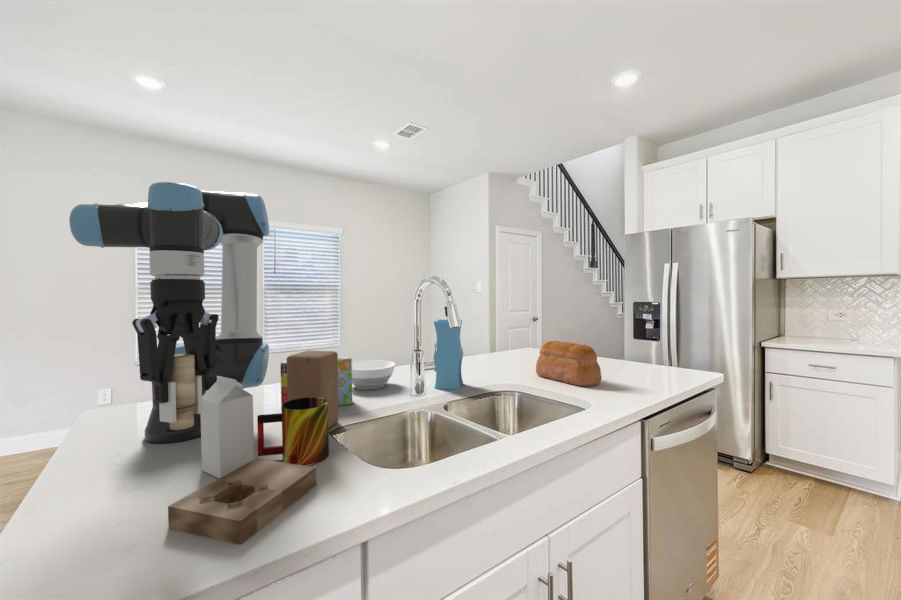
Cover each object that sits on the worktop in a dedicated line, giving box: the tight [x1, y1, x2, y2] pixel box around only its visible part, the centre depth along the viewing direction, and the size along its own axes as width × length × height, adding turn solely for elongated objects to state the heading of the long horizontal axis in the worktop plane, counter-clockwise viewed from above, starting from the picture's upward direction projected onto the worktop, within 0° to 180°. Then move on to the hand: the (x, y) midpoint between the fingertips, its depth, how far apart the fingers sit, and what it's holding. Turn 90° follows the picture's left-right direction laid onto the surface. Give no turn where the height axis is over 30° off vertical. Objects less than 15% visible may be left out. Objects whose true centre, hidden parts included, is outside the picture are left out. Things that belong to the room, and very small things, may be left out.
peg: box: [170, 354, 196, 430], centre depth 67 cm, size 4×4×12 cm
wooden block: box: [286, 350, 340, 429], centre depth 106 cm, size 10×10×20 cm
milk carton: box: [200, 376, 255, 479], centre depth 82 cm, size 7×7×19 cm
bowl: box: [352, 359, 396, 391], centre depth 151 cm, size 20×20×8 cm
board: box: [167, 458, 317, 545], centre depth 68 cm, size 14×18×4 cm
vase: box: [433, 318, 464, 391], centre depth 150 cm, size 10×10×25 cm
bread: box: [535, 340, 602, 387], centre depth 160 cm, size 14×26×15 cm, turn 34°
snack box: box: [280, 355, 353, 411], centre depth 126 cm, size 21×6×15 cm, turn 108°
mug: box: [256, 397, 330, 466], centre depth 87 cm, size 10×14×12 cm
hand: (181, 416), depth 67 cm, fingers closed on peg, 4 cm apart
